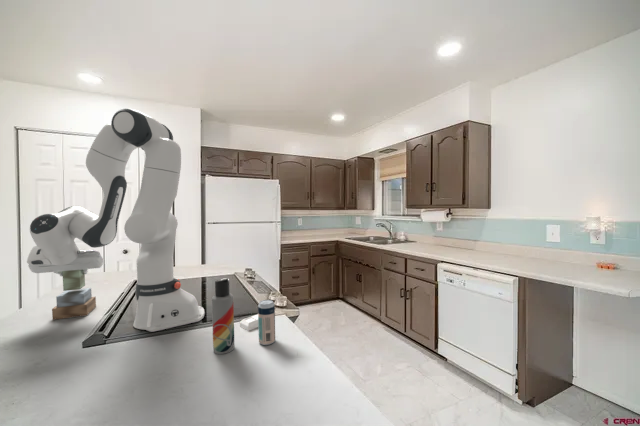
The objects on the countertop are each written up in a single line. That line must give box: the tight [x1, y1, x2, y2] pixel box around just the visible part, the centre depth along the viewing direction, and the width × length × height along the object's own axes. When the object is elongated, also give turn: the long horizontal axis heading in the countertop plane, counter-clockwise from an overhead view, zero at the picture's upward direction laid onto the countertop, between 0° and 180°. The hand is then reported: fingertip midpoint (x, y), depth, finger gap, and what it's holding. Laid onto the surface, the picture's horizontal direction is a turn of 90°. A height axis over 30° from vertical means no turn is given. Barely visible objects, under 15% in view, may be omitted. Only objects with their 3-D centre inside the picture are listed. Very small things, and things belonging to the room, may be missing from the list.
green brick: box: [62, 270, 86, 292], centre depth 109 cm, size 5×5×10 cm
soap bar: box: [239, 313, 258, 332], centre depth 97 cm, size 5×9×3 cm, turn 136°
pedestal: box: [51, 287, 97, 321], centre depth 109 cm, size 10×10×8 cm
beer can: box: [257, 299, 276, 346], centre depth 84 cm, size 5×5×12 cm
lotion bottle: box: [211, 278, 235, 355], centre depth 80 cm, size 6×6×20 cm
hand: (74, 273), depth 109 cm, fingers closed on green brick, 5 cm apart
